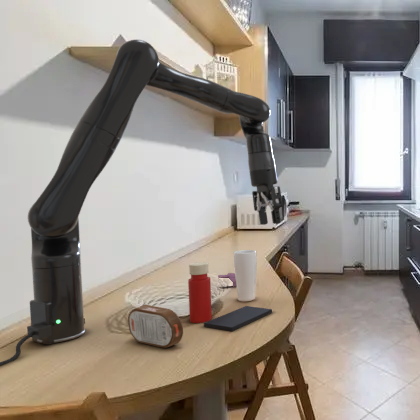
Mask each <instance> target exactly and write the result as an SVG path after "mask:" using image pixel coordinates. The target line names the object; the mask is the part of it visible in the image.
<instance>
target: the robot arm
mask: <svg viewBox="0 0 420 420" xmlns="http://www.w3.org/2000/svg"><path fill="white" fill-rule="evenodd" d="M146 87H151V88H155V89H158V90H161V91H165V92H168V93H171V94H174V95H177V96H180V97H181V98H185V99H187V100H189V101H192V102H195V103H197V104H199V105H202V106H204V107H207V108H209V109H212V110H213V111H217V112H219V113H221V114H224V115H232V114H233V115H237V116H238V119H239V125H240V127H241V130H242V133H243V136H244V138H245V143H246V152H247V163H248V171H249V177H250V184H251V186H252V187H253V188H255V187H256V190H252V192H251V195H252V202H253V203H252V204H253V210H254V212H257V213H258V218H259V224H260V225H261V226H263V225H267V224H269V220H268V214H267V207H269V209H270V210H271V211H270V214H271V219H272V224H274V225H276V224H280V223H281V222H282V220H281V214H280V211H281V208H283V207H284V202H283V197H282V192H281V191H282V190H281V186H280V185H278V186H276V185H277V184H278V175H277V169H276V162H275V157H274V154H273V146H272V140H271V137H270V135H269V134H268V133H266V131H265V129H264V123H265V122H267V121H268V120H269V118H270V116H271V108H270V106H269V104H268V103H267V102H265V100H263V99H261V98H260V97H258V96H255V95H253V94H252V95H251V94H247V93H245V92H239V91H235V90H232V89H231V88H228V87H226V86H224V85H221V84H220V83H217V82H215V81H213V80H210V79H207V78H204V77H200V76H197V75H192V74H189V73H185V72H182V71H180V70H177V69H174V68H172V67H170V66H167V65H165V64H164V63H162V62H161V61H160V58H159V54H158V52H157V50H156V49H155V47H154V46H153V45H152V44H150V42H147V41H145V40H142V39H130V40H127V41H126V42H124V43H122V44H121V45H119V48H118V49H117V51H116V55H115V59H114V61H113V64H112V67H111V69H110V71H109V74H108V75H107V78H106V80H105V82H104V84H103V86H102V87H101V89H100V90H99V91H98V92H97V94H96V95H95V97H94V98H93V99H92V101H91V102H90V103H89V105H88V106H87V108H86V109H85V111H84V112H83V113H82V116H81V117H80V118H79V121H78V122H77V123H76V126H75V127H74V130H73V131H72V133H71V135H70V137H69V139H68V141H67V144H66V146H65V148H64V150H63V152H62V156H61V158H60V161H59V163H58V165H57V168H56V171H55V173H54V175H53V177H52V178H51V179H50V181H49V183H48V184H47V186H46V187H45V188H44V190H43V191H42V192H41V194H40V196H39V197H38V198H37V199H36V201H35V202H34V203H33V204H32V205H31V207H30V208H29V210H28V212H27V222H28V225H29V227H30V234H31V254H30V255H31V257H30V260H31V269H32V270H31V273H32V274H31V275H32V289H33V290H32V291H33V299H31V300H30V301H29V312H30V325H28V326H26V328H27V329H26V331H27V332H26V333H27V335H25V336H23V337H22V338H20V340H19V341H18V342H17V344H16V346H15V353H14V354H13V356H11V357H10V358H8V359H6V360H3V361H0V367H2V366H4V365H7V364H9V363H12V362H14V361H16V360H17V359H18V357H20V355H21V351H22V350H21V349H22V348H21V347H22V346H23V344H24V343H25V342H26V341H27V340H29V339H30V338H31V342H34V343H38V344H43V345H47V346H48V345H49V346H50V345H52V344H56V343H63V342H67V341H70V340H73V339H77V338H79V337H82V336H83V335H85V333H86V328H85V325H86V318H85V315H84V314H85V312H84V297H83V295H84V294H83V279H82V278H83V277H82V263H81V262H82V261H81V260H82V259H81V241H80V240H81V239H80V220H79V219H80V218H79V216H80V214H81V211H82V208H83V206H84V203H85V201H86V198H87V196H88V193H89V191H90V189H91V187H92V186H93V184H94V183H95V181H96V180H97V178H98V177H99V176H100V174H101V173H102V172H103V170H105V168H106V166H107V165H108V163H109V161H110V160H111V159H112V156H113V155H114V153H115V151H116V150H117V148H118V146H119V144H120V142H121V141H122V138H123V136H124V135H125V132H126V129H127V127H128V124H129V122H130V119H131V117H132V114H133V111H134V108H135V106H136V103H137V100H138V99H139V97H140V95H141V94H142V92H143V91H144V90H145V88H146Z"/></svg>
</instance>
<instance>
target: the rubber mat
mask: <svg viewBox="0 0 420 420" xmlns="http://www.w3.org/2000/svg"><path fill="white" fill-rule="evenodd" d="M272 313H273V308H267V307H257V306H251V305H245V306H243V307H239V308H237V309H235V310H232V311H231V312H227V313H225V314H222V315H220V316H217V317H215V318H213V319H211V320H209V321H207V322H203V328H210V329H215V330H222V331H228V332H234V331H236V330H238V329H240V328H243V327H244V326H247V325H249V324H251V323H253V322H256V321H257V320H260V319H262V318H264V317H266V316H268V315H271V314H272Z"/></svg>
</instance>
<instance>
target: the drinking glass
mask: <svg viewBox="0 0 420 420" xmlns="http://www.w3.org/2000/svg"><path fill="white" fill-rule="evenodd" d="M257 255H258V253H257V250H255V249H242V250H241V249H240V250H236V251H234V252H233V268H234V273H235V278H236V286H235V287H236V297H237V301H239V302H251V301H254V300H255V299H256V285H257V269H258V268H257V267H258V257H257Z"/></svg>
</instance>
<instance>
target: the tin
mask: <svg viewBox="0 0 420 420" xmlns="http://www.w3.org/2000/svg"><path fill="white" fill-rule="evenodd" d="M127 323H128V329H129V333H130V335H131V336H132V338H133V339H134V340H136V342H138V343H141V344H145V345H149V346H154V347H157V348H161V349H166V348H167V349H168V348H170V347H172V346H174V345H177V344H179V343H180V342H181V341H182V339H183V336H184V327H183V323H182V320H181V318H180V316H179V315H178V314H177V312H175V311H174V310H172V309H171V308H166V307H161V306H156V305H151V304H150V305H149V304H142V305H140V306H138V307H135V308H133V309H131V310H130V311H129V313H128V316H127Z"/></svg>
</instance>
